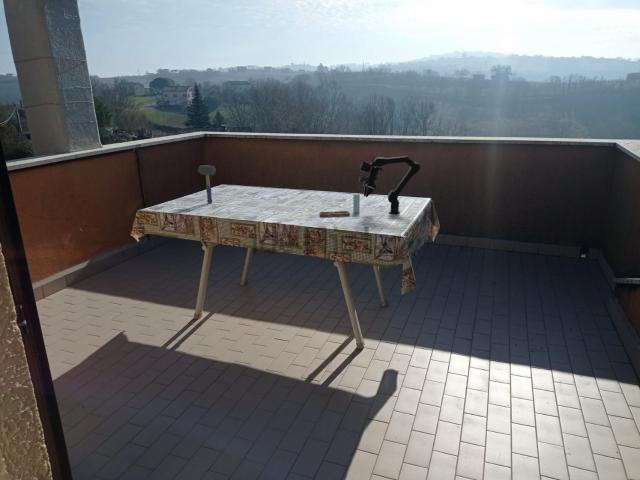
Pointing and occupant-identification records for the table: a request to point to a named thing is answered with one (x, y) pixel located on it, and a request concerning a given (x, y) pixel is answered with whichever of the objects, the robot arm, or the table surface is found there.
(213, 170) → the rubber mallet
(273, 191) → the table surface
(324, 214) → the walnut rack
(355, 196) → the teal board
